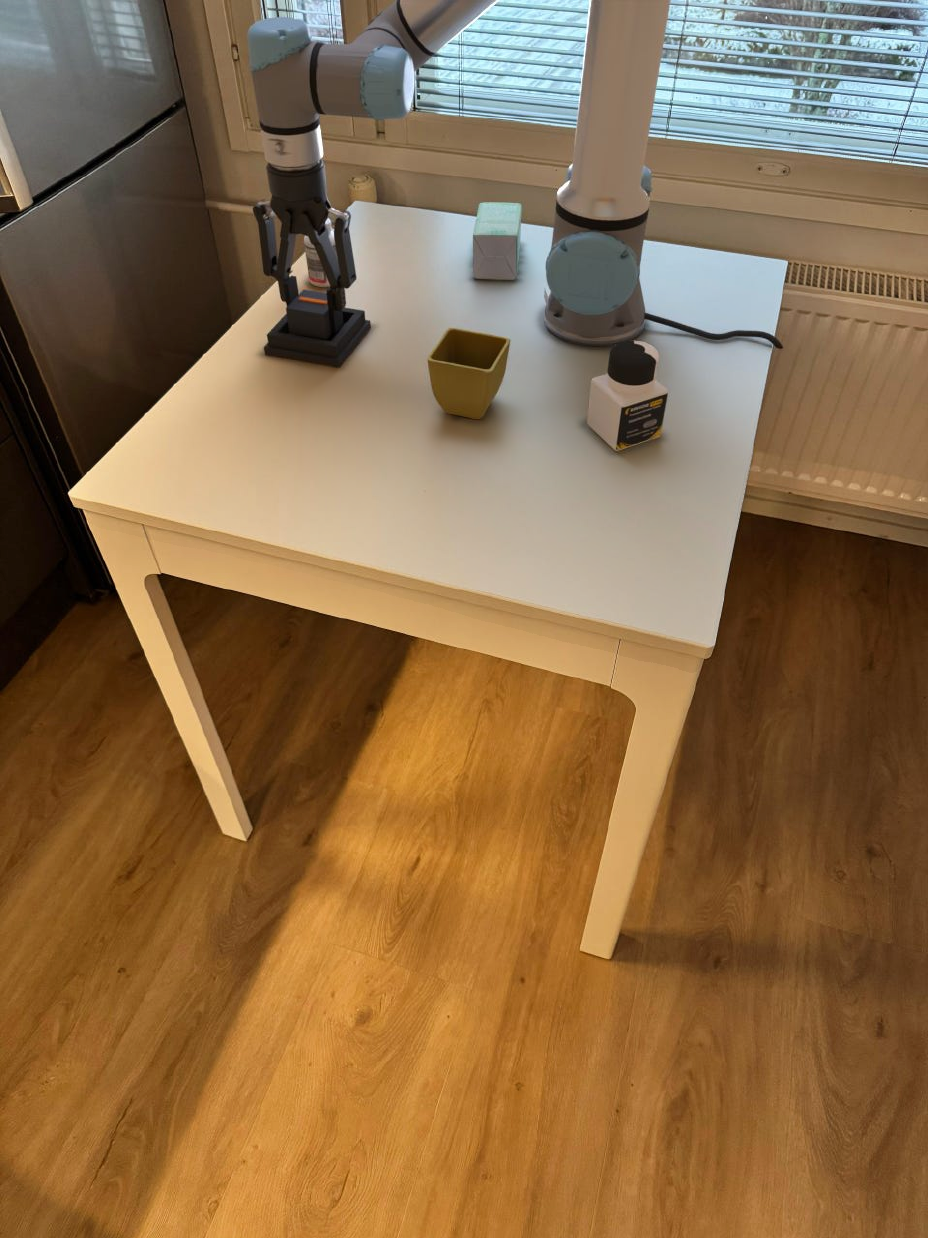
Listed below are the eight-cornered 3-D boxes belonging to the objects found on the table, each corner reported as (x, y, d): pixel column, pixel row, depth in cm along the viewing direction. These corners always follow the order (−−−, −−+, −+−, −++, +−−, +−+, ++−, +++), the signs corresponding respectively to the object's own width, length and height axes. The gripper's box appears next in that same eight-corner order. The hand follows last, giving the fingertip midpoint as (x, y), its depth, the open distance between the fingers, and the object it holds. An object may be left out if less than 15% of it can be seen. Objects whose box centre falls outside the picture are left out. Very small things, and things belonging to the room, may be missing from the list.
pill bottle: (334, 269, 152) (328, 210, 145) (347, 283, 149) (340, 223, 142) (304, 277, 151) (296, 217, 144) (316, 290, 147) (308, 230, 140)
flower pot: (509, 396, 126) (511, 337, 120) (490, 431, 120) (491, 371, 114) (449, 385, 128) (448, 326, 122) (427, 419, 122) (425, 359, 116)
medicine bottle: (615, 452, 117) (627, 370, 108) (585, 424, 121) (594, 342, 113) (661, 437, 119) (676, 355, 110) (630, 410, 124) (642, 328, 115)
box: (520, 243, 159) (521, 200, 153) (517, 280, 149) (518, 235, 144) (478, 243, 159) (478, 199, 154) (472, 279, 150) (472, 234, 144)
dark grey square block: (343, 320, 136) (340, 293, 133) (326, 339, 132) (323, 312, 129) (306, 314, 138) (303, 287, 135) (289, 333, 134) (285, 306, 131)
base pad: (371, 327, 139) (369, 309, 137) (339, 367, 131) (337, 348, 129) (299, 315, 142) (297, 297, 140) (264, 354, 134) (261, 335, 132)
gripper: (215, 162, 118) (247, 327, 135) (350, 180, 114) (366, 348, 130) (242, 142, 123) (270, 303, 139) (373, 158, 118) (385, 322, 135)
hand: (316, 324), depth 135 cm, fingers closed on dark grey square block, 6 cm apart
